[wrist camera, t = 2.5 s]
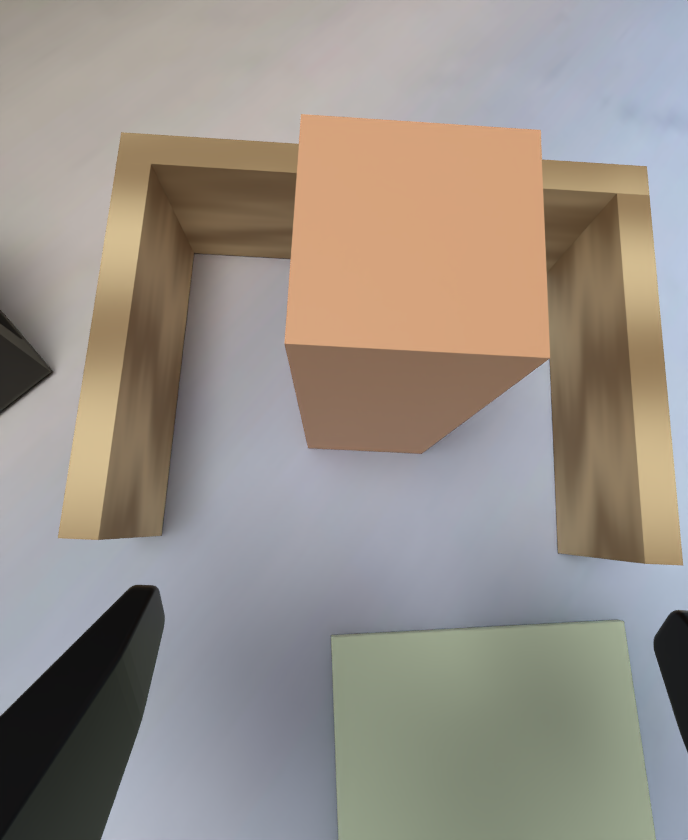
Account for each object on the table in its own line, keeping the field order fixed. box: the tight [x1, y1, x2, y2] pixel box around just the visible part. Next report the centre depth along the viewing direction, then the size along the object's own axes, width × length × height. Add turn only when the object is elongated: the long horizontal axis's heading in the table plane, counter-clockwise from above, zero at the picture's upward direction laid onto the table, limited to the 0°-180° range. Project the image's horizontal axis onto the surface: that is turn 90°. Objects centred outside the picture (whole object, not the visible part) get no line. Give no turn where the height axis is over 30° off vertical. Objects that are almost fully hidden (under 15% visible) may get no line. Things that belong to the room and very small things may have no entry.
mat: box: [331, 620, 656, 840], centre depth 19 cm, size 12×12×1 cm
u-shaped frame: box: [58, 132, 683, 565], centre depth 20 cm, size 14×19×6 cm
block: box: [285, 114, 550, 454], centre depth 16 cm, size 5×5×13 cm
